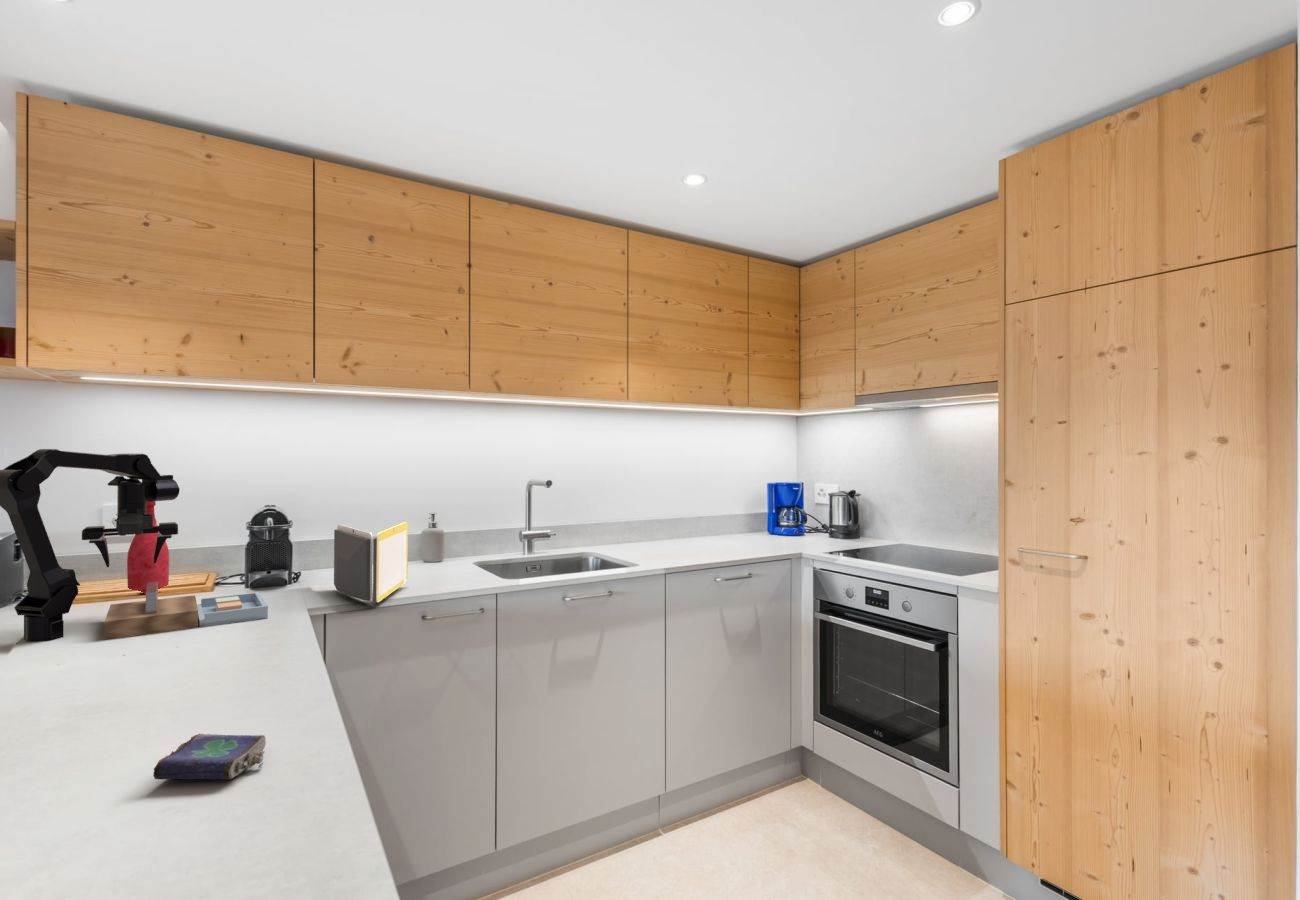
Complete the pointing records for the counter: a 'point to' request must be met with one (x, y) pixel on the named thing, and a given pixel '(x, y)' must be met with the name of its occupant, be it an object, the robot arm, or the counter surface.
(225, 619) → the box
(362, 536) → the folding display board
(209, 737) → the navy flat block
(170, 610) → the wood-grain brown block
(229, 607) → the terracotta tile
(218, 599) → the sage tile
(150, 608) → the grey rectangular bar
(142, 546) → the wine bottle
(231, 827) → the counter surface
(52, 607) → the robot arm
